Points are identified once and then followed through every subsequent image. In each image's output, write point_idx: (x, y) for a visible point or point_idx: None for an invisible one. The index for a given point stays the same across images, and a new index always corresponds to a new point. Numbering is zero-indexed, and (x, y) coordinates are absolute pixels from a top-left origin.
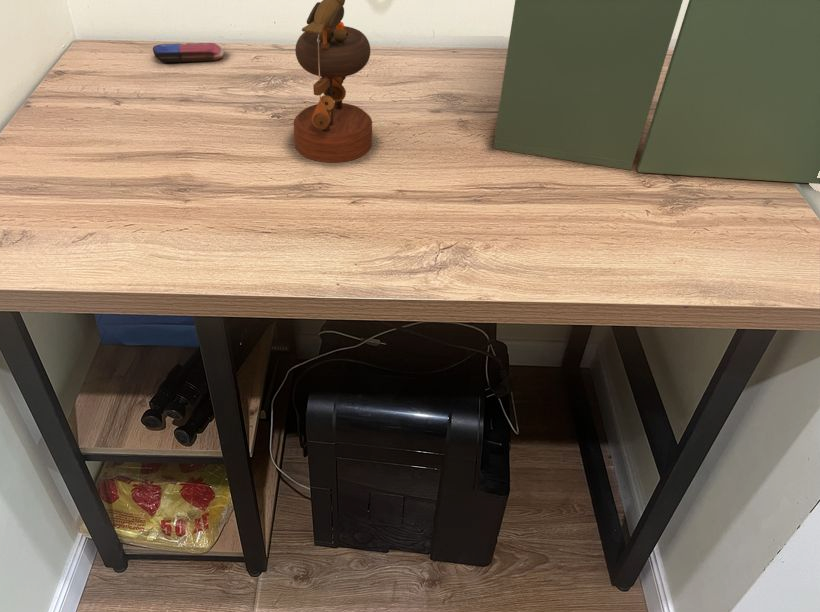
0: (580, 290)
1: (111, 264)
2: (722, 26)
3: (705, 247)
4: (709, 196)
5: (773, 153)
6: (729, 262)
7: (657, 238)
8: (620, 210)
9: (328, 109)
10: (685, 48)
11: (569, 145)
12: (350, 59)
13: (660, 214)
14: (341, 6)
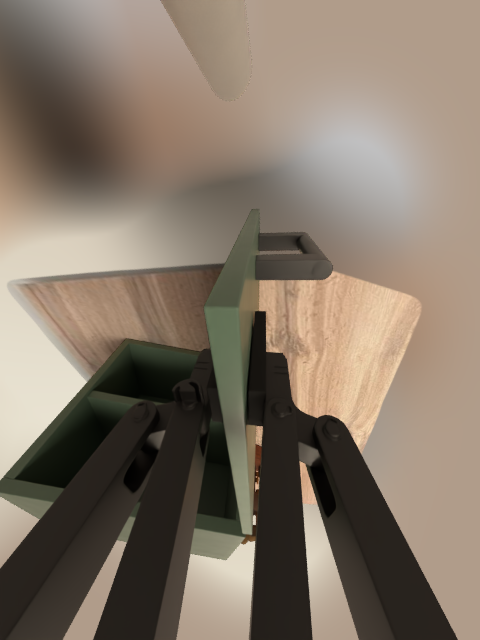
0: (377, 397)
1: None
2: (254, 451)
3: (347, 343)
4: (284, 327)
5: (258, 302)
6: (366, 334)
7: (334, 363)
8: (303, 373)
9: (258, 476)
10: (255, 441)
11: None
12: (257, 503)
13: (307, 357)
14: (252, 536)
